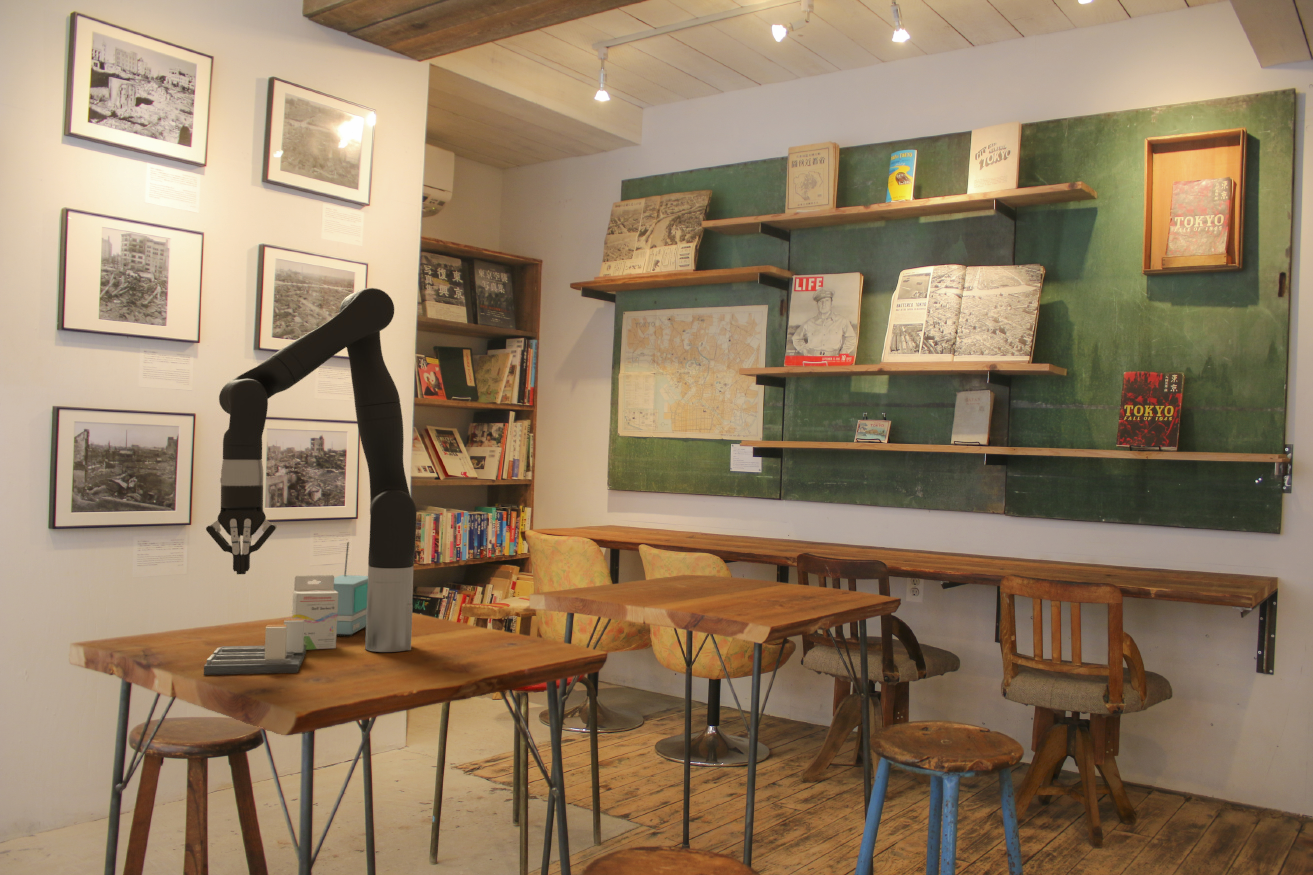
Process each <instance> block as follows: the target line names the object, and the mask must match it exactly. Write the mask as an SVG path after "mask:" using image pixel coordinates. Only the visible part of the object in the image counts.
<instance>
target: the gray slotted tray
mask: <svg viewBox="0 0 1313 875" xmlns="http://www.w3.org/2000/svg"><path fill="white" fill-rule="evenodd" d="M306 654H307V650H306V645H303V651H302V653H294V652H286V658H285V659H265V645H236V646H235V645H231V646H229V645H224V646H220V647H219V646H218V647H217V648H216V649H215V650H214V652H213V653H212V654H211V655H210V656H209V657H208V658H207V659H206V663H205V664H204V666H203V676H209V675H211V676H213V675H216V676H218V675H253V674H254V675H255V674H256V675H259V674H260V675H262V674H297V673H299V671H300V668H301V666H302V664H303V662H304V659H305V656H306Z"/></svg>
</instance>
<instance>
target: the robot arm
mask: <svg viewBox="0 0 1313 875" xmlns="http://www.w3.org/2000/svg"><path fill="white" fill-rule="evenodd" d="M394 315H395V304H394V301H393V299H392V298H391V297H390V296H389V294H388V293H387V292H385V291H384V290H382V289H379V288H375V287H367V288H362V289H360V290H358V291H355V292H353V293H351V294H349V295H347V296H346V297H345V298H343V300H342V302H341V303H340V306H339V310H338V313H337V314H336V315H335V316H333V317H332V318H330V319H329V320H328V321H327V322H325V323H323V324H322V325H320V326H319V327H317V328H315V329H314V330H312V331H309V332H308V333H306V334H304V335H302V336H300V337H299V338H297V339H295V340H294V341H291V343H289V344H287V345H285V346H283V348H281V349H279V350H278V351H276V352H275V353H273V354H272V355H271V356H269V357H267V358H266V359H265V360H264V361H262V363H260V364H258V365H257V366H255V367H252V368H251V369H249V370H247V371H245V372H243V373H241V374H240V375H238V376H236V377H234V378H233V379H232V380H230V381H229V382H227V383H226V384H225V385H224V386H223V387H222V389H221V390H220V392H219V395H218V402H219V405H220V407H221V410H223V411H224V412H226V413H227V414H228V415H229V422H228V423H229V424H228V428H227V430H226V431H225V432H224V433H223V434H224V435H223V438H222V439H223V440H222V464H221V470H220V471H221V472H220V478H219V479H220V480H219V482H220V512H219V514H218V515H217V519H216V520H215V521H214V522H212V523H211V524H210V525H207V526H206V527H205V530H206V532H207V533H208V534H209V536H211V538H212V539H213V540H214V541H215V543H216V544H217V545H218V546H219V547H220V548H221V551H223V552H227V553H230V554H232V570H233V572H236V575H246V573H247V572H249V570H250V567H251V564H250V563H251V554H252V553H254V552H257V551H258V550H260V549H261V548H262V546H264V544H265V543H266V541H267V540H268V539H269V538H270V537H271V536H272V534H273V533H274V532H275V531H276V530H277V525H276V524H275V523H272V522H270V521H269V520H267V519H266V518H267V516H266V514H265V512H264V466H263V465H264V464H263V434H264V431H265V430H264V429H265V426H266V420H267V416H268V407H269V406H268V405H269V400H268V399H270V398H272V397H273V396H275V395H276V394H278V393H281V392H284V391H287V390H288V389H290V388H292V387H293V386H294V385H296V384H297V383H299V382H300V381H302V380H303V379H305V378H306V377H307V376H308V375H310V374H311V373H313V372H314V371H315V370H317V369H318V368H319V367H321V366H322V365H323V364H324V363H326V362H327V361H329V360H330V359H331V358H333V357H334V356H335V355H337V354H338V353H340V352H341V351H343V350H344V349H346V351H347V356H348V359H349V367H350V376H351V384H352V392H353V399H354V409H355V416H356V423H357V427H358V433H359V437H360V442H361V445H362V450H363V453H364V458H365V461H366V463H367V468H368V477H369V491H370V493H369V494H370V495H369V498H370V500H369V502H370V504H369V507H370V508H369V515H370V516H369V517H370V518H369V519H370V521H369V544H368V559H367V560H368V564H367V565H368V567H367V576H368V587H367V612H366V628H365V639H364V642H365V644H364V646H365V647H364V648H365V650H366V651H370V652H378V653H395V652H396V653H397V652H404V651H411V650H412V633H413V632H412V630H413V628H412V627H413V608H414V607H413V595H414V594H413V593H414V592H413V589H414V588H413V586H414V567H415V566H414V565H415V562H414V560H415V554H416V537H417V516H418V515H417V506H416V503H415V501H414V500H413V498H412V497H411V493H410V490H409V487H408V486H409V485H408V481H407V478H406V471H405V466H404V441H405V440H404V439H405V438H404V422H403V419H404V418H403V414H402V412H403V411H402V407H401V406H402V405H401V400H400V399H401V398H400V395H399V391H398V388H397V386H396V384H395V381H394V380H393V377H392V376H391V374H390V372H389V370H388V367H387V365H386V363H385V360H384V356H383V353H382V352H383V350H382V344H381V331H383V330H385V329H386V328H387V327H388V326H389V325H390V324H391V322H392V320H393V319H394ZM261 526H262V529H261V531H262V532H263V533H262V535H261V536H260V537H259V538H258V539H257V540H256V542H254V544H252V538H253V536H254V535H255V534H256V532H257V531H258V530H260V528H261ZM221 527H222V528H223V530H225V532H226V533H227V534H228V536H230V538H231V539H230V541H231V544H230V543H229V542H228V541H227V539H226V538H225V537H224V536H223V535H222V533H221V532H222V528H221ZM241 536H242V547H241Z"/></svg>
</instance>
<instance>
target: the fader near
mask: <svg viewBox="0 0 1313 875" xmlns="http://www.w3.org/2000/svg"><path fill="white" fill-rule="evenodd" d="M264 635H265V638H264V639H265V641H264V646H265V659H285V658H286V649H287V625H284V624H267V625H266V626H265V634H264Z"/></svg>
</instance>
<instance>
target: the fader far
mask: <svg viewBox="0 0 1313 875" xmlns="http://www.w3.org/2000/svg"><path fill="white" fill-rule="evenodd" d="M304 620H305V619H292V618H284V620H283V625H287V649H286V652H294V653H302V651H303V645H304Z"/></svg>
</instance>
